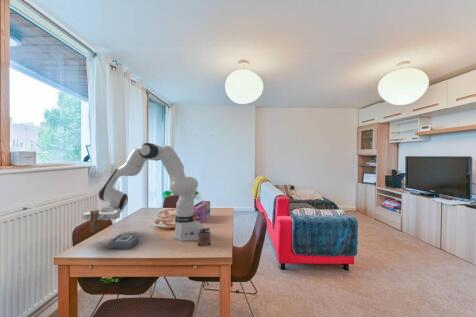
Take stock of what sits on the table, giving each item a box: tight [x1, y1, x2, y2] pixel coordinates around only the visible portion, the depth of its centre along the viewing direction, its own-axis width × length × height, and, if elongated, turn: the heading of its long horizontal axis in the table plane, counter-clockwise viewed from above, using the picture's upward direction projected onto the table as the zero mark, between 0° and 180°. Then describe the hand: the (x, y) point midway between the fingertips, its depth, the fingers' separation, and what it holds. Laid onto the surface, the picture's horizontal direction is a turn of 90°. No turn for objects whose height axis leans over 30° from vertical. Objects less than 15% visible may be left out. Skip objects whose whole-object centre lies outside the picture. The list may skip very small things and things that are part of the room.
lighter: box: [197, 227, 212, 247], centre depth 140 cm, size 8×3×10 cm, turn 114°
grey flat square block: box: [108, 234, 140, 250], centre depth 138 cm, size 12×12×4 cm
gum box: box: [193, 200, 211, 224], centre depth 195 cm, size 24×8×14 cm, turn 170°
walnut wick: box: [89, 209, 100, 233], centre depth 138 cm, size 2×4×12 cm, turn 1°
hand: (93, 218), depth 137 cm, fingers closed on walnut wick, 2 cm apart
